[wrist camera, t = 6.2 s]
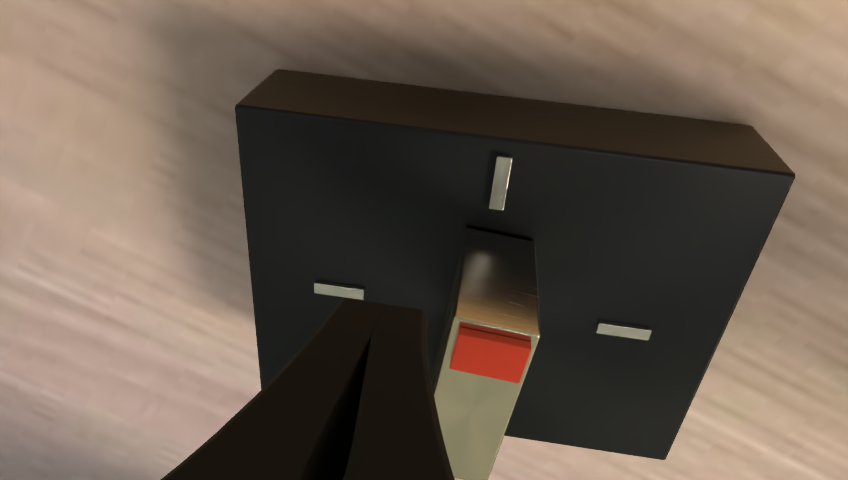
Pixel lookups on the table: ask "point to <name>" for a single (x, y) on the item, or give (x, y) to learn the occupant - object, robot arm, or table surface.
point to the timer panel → (512, 234)
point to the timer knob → (485, 347)
